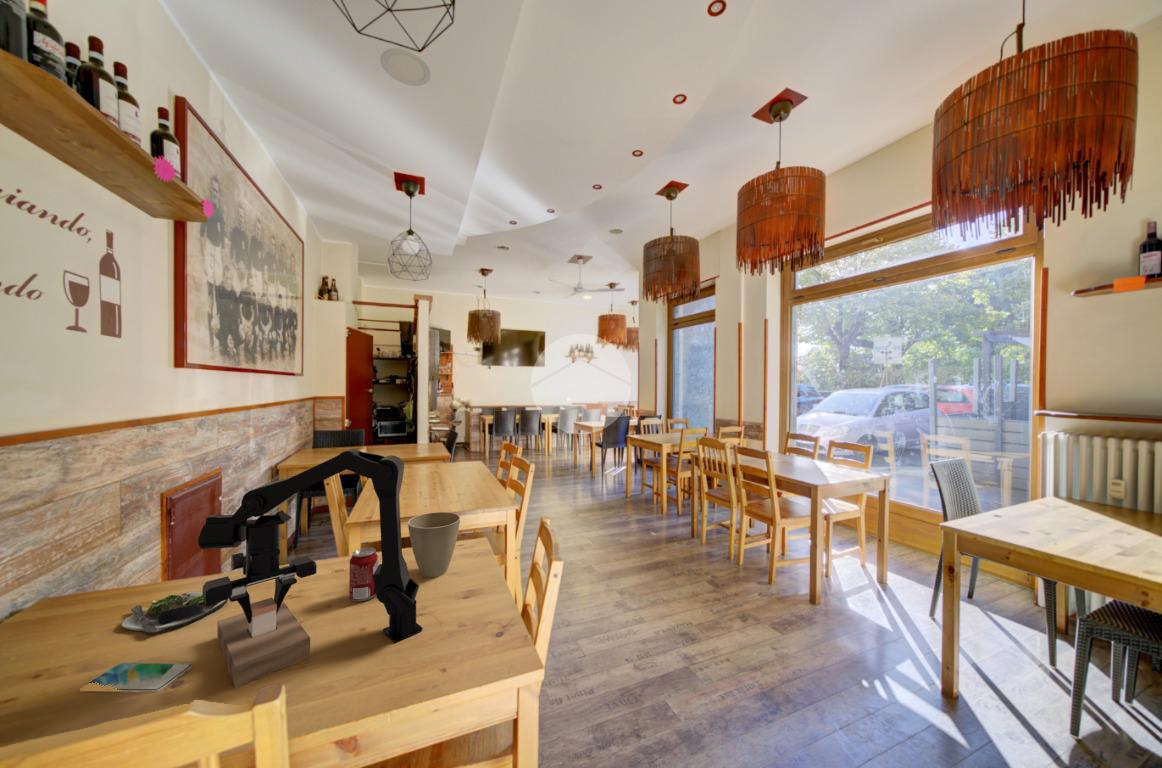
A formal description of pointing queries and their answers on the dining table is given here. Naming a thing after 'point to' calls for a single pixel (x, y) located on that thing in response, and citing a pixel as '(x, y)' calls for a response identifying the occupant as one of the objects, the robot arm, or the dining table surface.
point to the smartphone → (142, 676)
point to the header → (261, 646)
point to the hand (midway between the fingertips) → (262, 618)
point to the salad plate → (171, 613)
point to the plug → (262, 617)
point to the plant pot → (433, 541)
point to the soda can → (362, 574)
